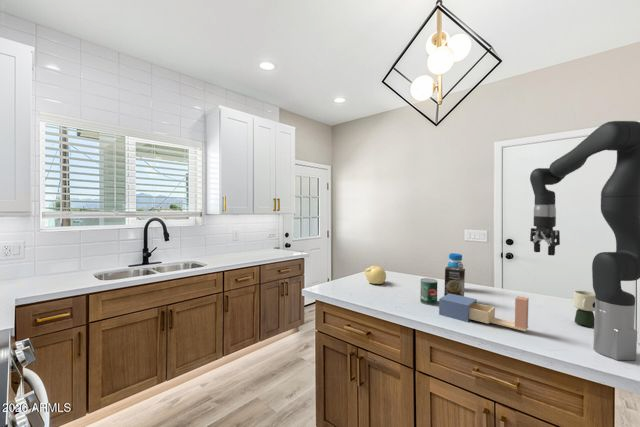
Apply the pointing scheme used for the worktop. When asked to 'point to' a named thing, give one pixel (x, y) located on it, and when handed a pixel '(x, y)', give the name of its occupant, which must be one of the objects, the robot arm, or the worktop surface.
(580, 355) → the worktop surface
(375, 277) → the yellow apple
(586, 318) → the character mug
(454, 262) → the beverage bottle
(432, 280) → the canned tomato
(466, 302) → the sleeve
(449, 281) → the coffee box
